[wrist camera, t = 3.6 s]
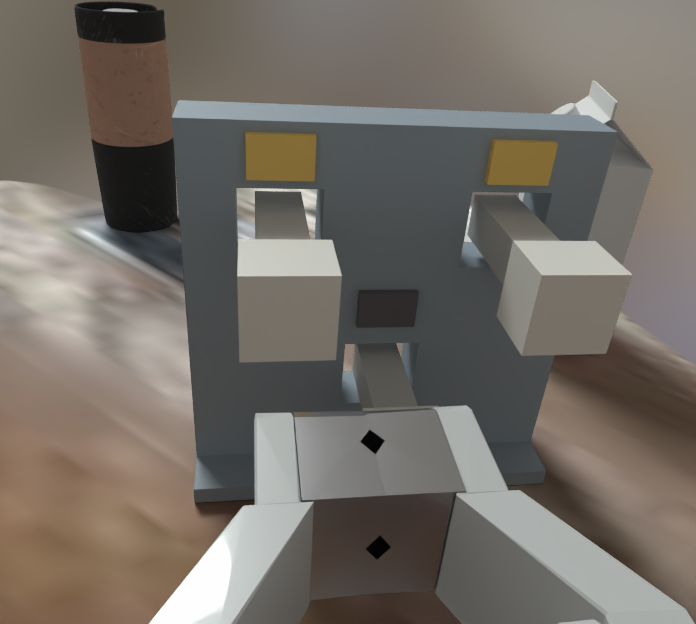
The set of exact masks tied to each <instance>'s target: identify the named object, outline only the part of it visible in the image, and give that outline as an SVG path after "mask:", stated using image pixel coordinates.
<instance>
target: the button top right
mask: <svg viewBox="0 0 696 624" xmlns="http://www.w3.org/2000/svg"><path fill="white" fill-rule="evenodd" d="M468 236H469V237H470V239H471V240H472V242H473V243H474V245H475V246H476V247H477V249H478V250H479V252H480V253H481V255H482V256H483V257H484V259H485V260H486V262H487V263H488V264H489V266H490V267H491V269H492V270H493V272H494V273H495V274H496V276H497V277H498V279H499V280H500V282H501V283H502V284H503V289H502V293H501V298H500V302H499V307H498V311H497V318H498V319H499V321H500V323H501V324H502V326H503V327H504V329H505V330H506V332H507V334H508V335H509V337H510V338H511V340H512V342H513V343H514V345H515V346H516V348H517V349H518V351H519V353H520V354H521V356H537V355H580V354H606V353H607V350H608V347H609V344H610V341H611V338H612V335H613V332H614V329H615V326H616V323H617V320H618V317H619V314H620V310H621V307H622V305H623V302H624V299H625V296H626V293H627V290H628V287H629V284H630V281H631V278H632V274H631V273H630V272H629V271H628V270H626V269H625V268H624V267H623V266H622V265H621V264H620V263H619V262H618V261H617V260H616V259H615V258H613V257H612V256H611V255H610V254H609V253H608V252H607V251H606V250H605V249H604V248H603V247H601V246H600V245H599V244H598V243H597V242H596V241H560V240H559V239H558V238H557V237H556V236H555V235H554V234H553V233H552V232H551V231H550V230H549V229H548V228H547V227H546V226H545V225H544V224H543V223H542V222H541V221H540V220H539V218H538V217H537V216H536V215H535V214H534V213H533V212H532V211H531V210H530V209H529V208H528V207H527V206H526V205H525V204H524V203H523V202H522V201H521V200H520V199H519V198H518V197H517V196H516V195H515V196H514V195H475V196H474V201H473V207H472V212H471V218H470V224H469V229H468Z"/></svg>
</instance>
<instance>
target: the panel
mask: <svg viewBox="0 0 696 624" xmlns="http://www.w3.org/2000/svg"><path fill="white" fill-rule="evenodd" d="M172 125H173V139H174V152H175V166H176V179H177V193H178V206H179V220H180V234H181V248H182V261H183V275H184V288H185V302H186V316H187V329H188V343H189V356H190V370H191V383H192V397H193V411H194V424H195V438H196V451H197V460H196V471H195V482H194V499H195V503H198V502H216V501H234V500H252V499H255V468H254V419H255V414H256V413H292V415H293V412H328V411H362V408H361V403H360V399H359V395H358V391H357V386H356V382H355V378H354V374H353V371H343V362H344V349H345V344H369V343H403V347H402V354H401V359H402V362H403V365H404V368H405V371H406V373H407V376H408V379H409V382H410V385H411V388H412V390H413V393H414V396H415V399H416V402H417V405H418V406H439V407H446V406H463V405H467V406H468V407H469V408H470V409H472V411H473V414H474V416H475V418H476V420H477V422H478V424H479V427H480V429H481V431H482V433H483V435H484V437H485V440H486V442H487V444H488V446H489V448H490V450H491V453H492V455H493V457H494V459H495V461H496V463H497V466H498V468H499V470H500V472H501V474H502V476H503V479H504V481H505V483H506V485H524V484H542V483H543V481H544V477H545V474H546V469H545V468H544V466H543V464H542V462H541V460H540V458H539V457H538V455H537V453H536V451H535V449H534V447H533V446H532V444H531V442H530V441H531V437H532V434H533V430H534V427H535V423H536V420H537V416H538V413H539V409H540V406H541V402H542V399H543V395H544V392H545V388H546V385H547V381H548V378H549V374H550V371H551V367H552V364H553V360H554V357H555V355H537V356H521V354H520V353H519V351H518V349H517V348H516V346H515V345H514V343H513V342H512V340H511V338H510V337H509V335H508V334H507V332H506V330H505V329H504V327H503V326H502V324H501V323H500V321H499V319H498V318H497V311H498V307H499V302H500V298H501V293H502V289H503V284H502V283H501V282H500V280H499V279H498V277H497V276H496V274H495V273H494V272H493V270H492V269H491V267H490V266H489V264H488V263H487V262H486V260H485V259H484V257H483V256H482V255H481V253H480V252H479V250H478V249H477V247H476V246H475V245H474V243H473V242H464V236H465V231H466V225H467V219H468V214H469V208H470V202H471V197H472V192H518V193H524V197H523V203H524V204H525V205H526V206H527V207H528V208H529V209H530V210H531V211H532V212H533V213H534V214H535V215H536V216H537V217H538V218H539V220H540V221H541V222H542V223H543V224H544V225H545V226H546V227H547V228H548V229H549V230H550V231H551V232H552V233H553V234H554V235H555V236H556V237H557V238H558V239H559V240H560V241H588V237H589V234H590V230H591V227H592V223H593V220H594V216H595V213H596V209H597V206H598V202H599V199H600V195H601V192H602V188H603V185H604V181H605V178H606V174H607V170H608V167H609V163H610V160H611V156H612V153H613V149H614V146H615V142H616V139H617V135H618V132H617V131H616V130H614V129H612V128H610V127H609V126H607V125H605V124H603V123H602V122H600V121H598V120H596V119H595V118H593V117H591V116H589V115H566V114H538V113H511V112H484V111H483V112H482V111H456V110H429V109H428V110H427V109H402V108H401V109H400V108H374V107H373V108H372V107H347V106H345V107H344V106H320V105H292V104H291V105H289V104H265V103H236V102H210V101H183V100H179V101H178V103H177V106H176V108H175V111H174V114H173V116H172ZM236 188H282V189H317V204H316V227H315V240H332V241H333V245H334V248H335V252H336V256H337V260H338V263H339V267H340V271H341V275H342V282H341V296H340V310H339V324H338V338H337V352H336V360H324V361H281V362H239V327H238V287H237V267H238V235H237V193H236Z"/></svg>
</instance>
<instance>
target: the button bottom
mask: <svg viewBox="0 0 696 624" xmlns="http://www.w3.org/2000/svg"><path fill="white" fill-rule="evenodd" d="M352 369H353V374H354V378H355V382H356V386H357V391H358V395H359V399H360V403H361V408H362V411H377V410H400V409H423V408H430V409H432V407H439V406H418V405H417V402H416V399H415V396H414V393H413V390H412V388H411V385H410V382H409V379H408V376H407V373H406V371H405V368H404V365H403V362H402V359H401V356H400V354H399V351H398V348H397V345H396V343H369V344H354V356H353V367H352Z"/></svg>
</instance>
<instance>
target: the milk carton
mask: <svg viewBox="0 0 696 624" xmlns="http://www.w3.org/2000/svg"><path fill="white" fill-rule="evenodd" d="M617 104H618V102H617V101H616V100H615V99H614V98H613V97H612V96H611V95H610V94H609V93H607V91H606V90H605V89H604V88H602V87H601V86H600V85H599V84H598V83H597V82H596V81H592V85H591V89H590V93H589V96H587V97H586V98H584V99H583V100H581V101H579V102H578V103H576V104H573V103H569V104H567V105H564V106H562V107H560V108H558V109H557V110H555V111H554V112H553V113H551V114H566V115H589V116H591V117H593V118H595V119H596V120H598V121H600V122H602V123H603V124H605V125H607V126H609V127H610V128H612V129H614V130H616V131H617V132H618V135H617V139H616V142H615V146H614V149H613V153H612V156H611V160H610V163H609V167H608V170H607V174H606V178H605V181H604V185H603V188H602V192H601V195H600V199H599V202H598V206H597V209H596V213H595V216H594V220H593V223H592V227H591V230H590V234H589V237H588V241H596V242H597V243H598V244H599V245H600V246H601V247H603V248H604V249H605V250H606V251H607V252H608V253H609V254H610V255H611V256H612V257H613V258H615V259H616V260H617V261H618V262H619V263H620V264H621V265H622V266H623V262H624V259H625V256H626V253H627V250H628V247H629V244H630V241H631V238H632V235H633V231H634V228H635V225H636V222H637V219H638V216H639V213H640V210H641V207H642V204H643V200H644V197H645V194H646V191H647V188H648V185H649V182H650V179H651V176H652V172H653V169H652V167H651V166H650V165H649V163H648V162H647V161H646V160H645V159H644V157H643V156H642V155H641V154H640V152H639V151H638V150H637V149H636V147H635V146H634V145H633V144H632V142H631V141H630V140H629V139H628V137H627V136H626V135H625V134H624V132H623V131H622V130H621V129H620V127H619V126H618V125H617V124H616V122H615V121H614V120H613V119H614V115H615V112H616V108H617ZM523 197H524V193H519V199H520V200H521V201H522V202H523Z"/></svg>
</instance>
